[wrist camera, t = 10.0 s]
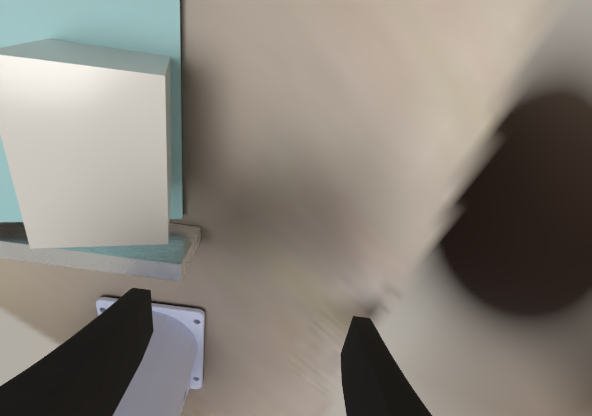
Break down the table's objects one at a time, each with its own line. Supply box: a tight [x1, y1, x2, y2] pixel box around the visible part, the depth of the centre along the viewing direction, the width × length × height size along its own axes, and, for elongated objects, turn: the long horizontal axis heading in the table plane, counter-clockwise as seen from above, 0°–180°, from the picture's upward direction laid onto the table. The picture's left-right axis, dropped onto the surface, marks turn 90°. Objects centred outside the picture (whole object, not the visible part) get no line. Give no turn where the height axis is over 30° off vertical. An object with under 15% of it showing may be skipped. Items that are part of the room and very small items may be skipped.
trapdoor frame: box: [0, 222, 201, 282], centre depth 16 cm, size 16×17×5 cm
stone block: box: [0, 39, 172, 249], centre depth 14 cm, size 7×5×6 cm
